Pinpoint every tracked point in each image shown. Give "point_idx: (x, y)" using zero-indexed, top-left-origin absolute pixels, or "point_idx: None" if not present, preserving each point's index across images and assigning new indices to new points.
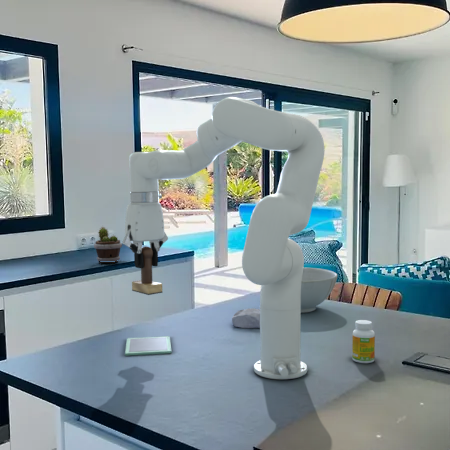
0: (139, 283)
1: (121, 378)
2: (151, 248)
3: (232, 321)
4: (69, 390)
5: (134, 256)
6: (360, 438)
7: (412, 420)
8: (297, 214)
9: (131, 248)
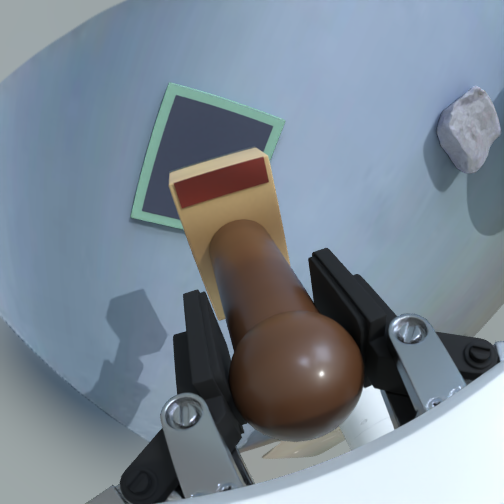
0: (195, 256)
1: (111, 332)
2: (385, 362)
3: (442, 126)
4: (39, 343)
5: (177, 381)
6: (283, 454)
7: (332, 439)
8: None
9: (152, 460)
